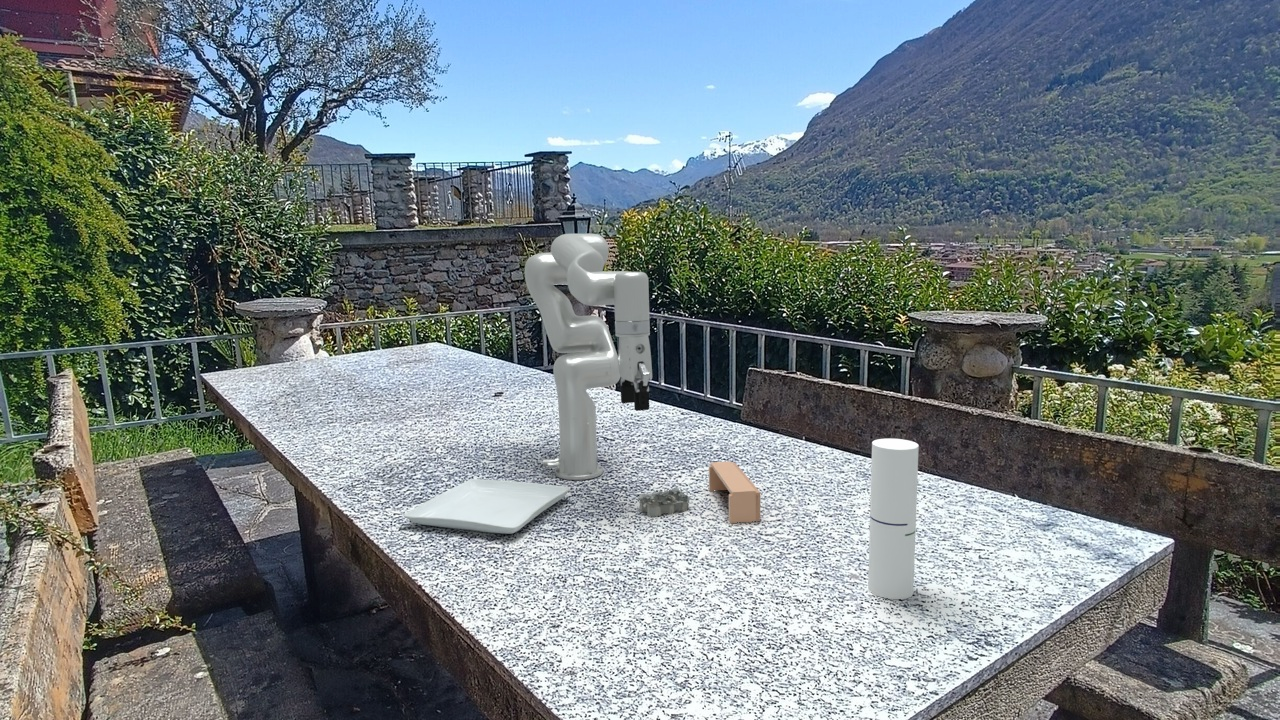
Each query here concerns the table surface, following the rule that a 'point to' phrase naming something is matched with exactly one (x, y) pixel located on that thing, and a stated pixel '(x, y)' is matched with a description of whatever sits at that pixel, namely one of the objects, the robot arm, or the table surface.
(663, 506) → the egg carton
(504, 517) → the square plate
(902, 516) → the cylindrical container
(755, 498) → the shelf
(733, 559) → the table surface
